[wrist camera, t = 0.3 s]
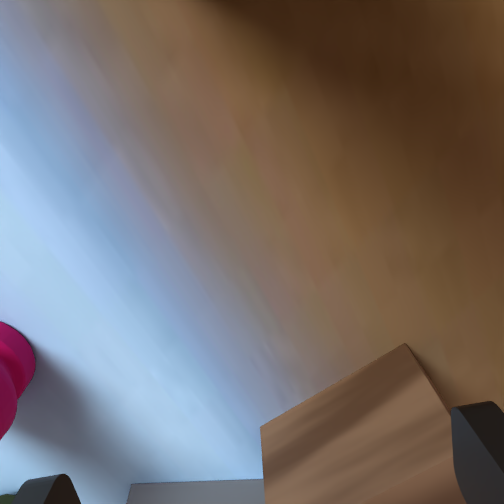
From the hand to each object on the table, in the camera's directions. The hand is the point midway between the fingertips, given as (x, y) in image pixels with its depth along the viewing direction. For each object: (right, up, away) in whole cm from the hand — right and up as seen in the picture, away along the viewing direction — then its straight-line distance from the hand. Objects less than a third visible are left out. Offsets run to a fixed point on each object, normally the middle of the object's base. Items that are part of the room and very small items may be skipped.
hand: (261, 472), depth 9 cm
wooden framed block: (+6, -6, +23) cm, 24 cm away
